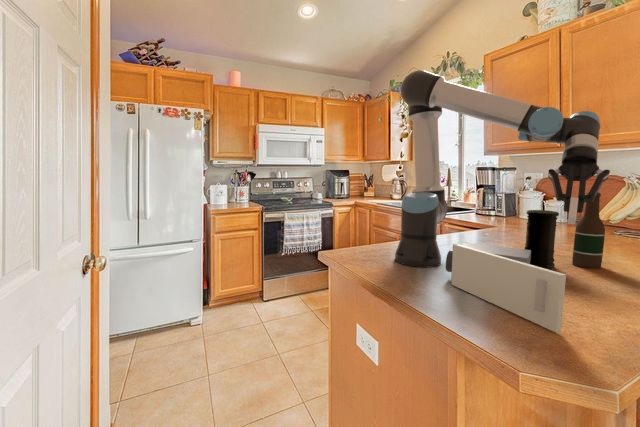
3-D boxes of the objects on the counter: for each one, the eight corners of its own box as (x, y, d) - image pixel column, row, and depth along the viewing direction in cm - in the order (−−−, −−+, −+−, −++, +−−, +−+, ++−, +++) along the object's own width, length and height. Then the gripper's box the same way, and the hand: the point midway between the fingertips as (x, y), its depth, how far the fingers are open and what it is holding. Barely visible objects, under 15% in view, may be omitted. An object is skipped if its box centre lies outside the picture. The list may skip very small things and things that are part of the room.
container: (543, 262, 106) (548, 209, 104) (561, 269, 97) (566, 212, 95) (516, 261, 107) (520, 209, 105) (530, 269, 98) (535, 212, 96)
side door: (560, 331, 58) (566, 274, 57) (551, 333, 57) (556, 275, 56) (453, 283, 84) (455, 243, 83) (446, 284, 83) (448, 244, 82)
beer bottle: (595, 270, 96) (603, 193, 93) (566, 264, 103) (573, 192, 100) (606, 267, 100) (615, 192, 97) (577, 261, 107) (585, 191, 104)
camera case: (528, 287, 82) (531, 250, 81) (524, 299, 74) (527, 258, 73) (452, 273, 94) (454, 241, 92) (442, 282, 86) (444, 247, 84)
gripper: (609, 164, 85) (605, 233, 74) (550, 164, 93) (539, 226, 83) (613, 143, 80) (610, 214, 70) (551, 145, 88) (539, 208, 78)
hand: (571, 220), depth 76 cm, fingers closed
